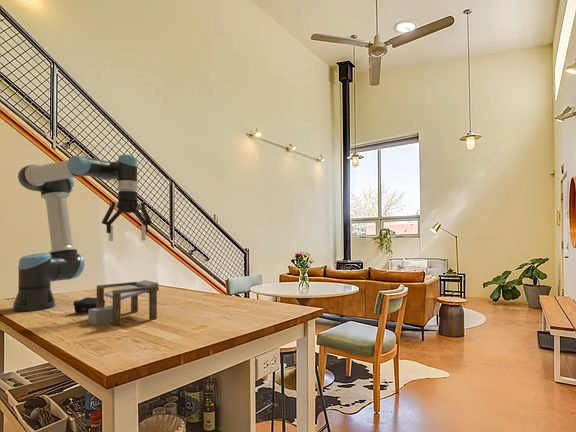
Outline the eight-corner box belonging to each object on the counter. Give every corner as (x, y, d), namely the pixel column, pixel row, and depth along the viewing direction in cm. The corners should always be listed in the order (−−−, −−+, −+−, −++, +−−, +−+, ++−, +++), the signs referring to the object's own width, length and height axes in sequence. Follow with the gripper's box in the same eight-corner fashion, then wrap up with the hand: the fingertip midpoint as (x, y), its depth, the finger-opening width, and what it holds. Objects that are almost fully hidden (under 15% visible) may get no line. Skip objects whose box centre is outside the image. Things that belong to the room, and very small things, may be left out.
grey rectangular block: (110, 318, 141) (88, 323, 135) (110, 305, 141) (88, 309, 135) (118, 321, 137) (96, 325, 131) (118, 307, 137) (96, 311, 131)
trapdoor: (105, 298, 144) (103, 290, 143) (144, 286, 154) (143, 279, 154) (119, 303, 132) (117, 295, 132) (160, 290, 143) (159, 283, 143)
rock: (85, 309, 159) (85, 295, 159) (106, 308, 160) (106, 295, 160) (72, 314, 149) (72, 300, 149) (95, 314, 149) (95, 299, 150)
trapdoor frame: (96, 317, 143) (96, 285, 144) (135, 311, 154) (135, 281, 154) (114, 326, 129) (114, 291, 129) (156, 318, 139) (156, 286, 139)
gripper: (99, 188, 150) (99, 241, 149) (159, 192, 167) (159, 240, 166) (93, 190, 155) (93, 241, 154) (152, 193, 172) (152, 239, 172)
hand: (127, 240), depth 160 cm, fingers open, 13 cm apart
